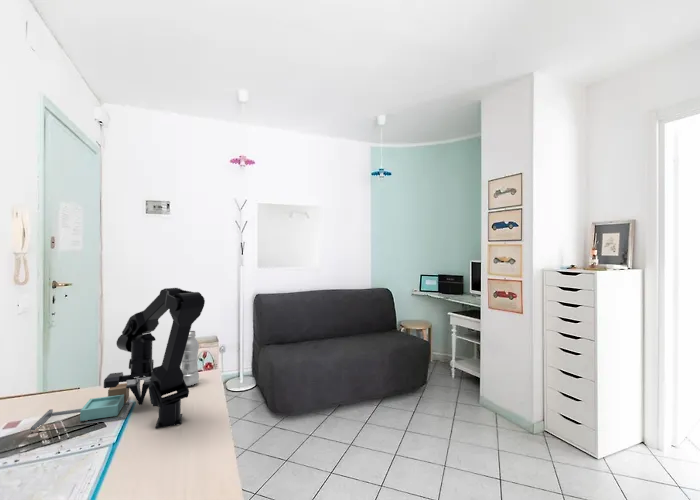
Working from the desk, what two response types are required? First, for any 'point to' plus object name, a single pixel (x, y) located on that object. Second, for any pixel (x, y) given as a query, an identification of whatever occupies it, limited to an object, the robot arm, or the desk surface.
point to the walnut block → (119, 391)
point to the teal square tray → (102, 407)
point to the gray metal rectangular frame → (51, 413)
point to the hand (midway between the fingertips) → (140, 404)
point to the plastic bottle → (190, 360)
